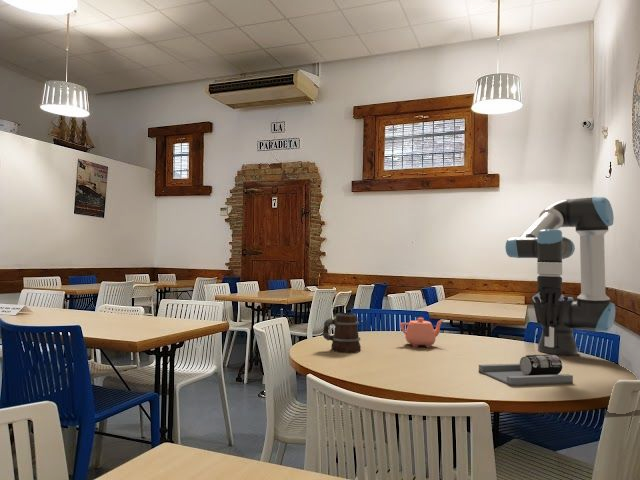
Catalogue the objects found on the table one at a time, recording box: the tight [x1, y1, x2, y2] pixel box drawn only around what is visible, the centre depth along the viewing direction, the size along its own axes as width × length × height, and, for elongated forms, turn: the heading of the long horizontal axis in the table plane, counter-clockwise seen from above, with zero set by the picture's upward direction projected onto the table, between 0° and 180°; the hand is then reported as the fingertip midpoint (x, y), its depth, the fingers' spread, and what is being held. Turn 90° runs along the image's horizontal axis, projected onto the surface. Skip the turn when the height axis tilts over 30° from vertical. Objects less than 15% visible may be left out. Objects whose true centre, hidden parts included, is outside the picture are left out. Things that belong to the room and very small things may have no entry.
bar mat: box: [478, 363, 574, 387], centre depth 156 cm, size 22×18×2 cm
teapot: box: [399, 317, 445, 348], centre depth 211 cm, size 13×20×12 cm, turn 93°
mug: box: [321, 312, 362, 354], centre depth 196 cm, size 16×12×15 cm
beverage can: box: [519, 354, 563, 376], centre depth 158 cm, size 7×7×12 cm
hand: (549, 346), depth 159 cm, fingers closed
